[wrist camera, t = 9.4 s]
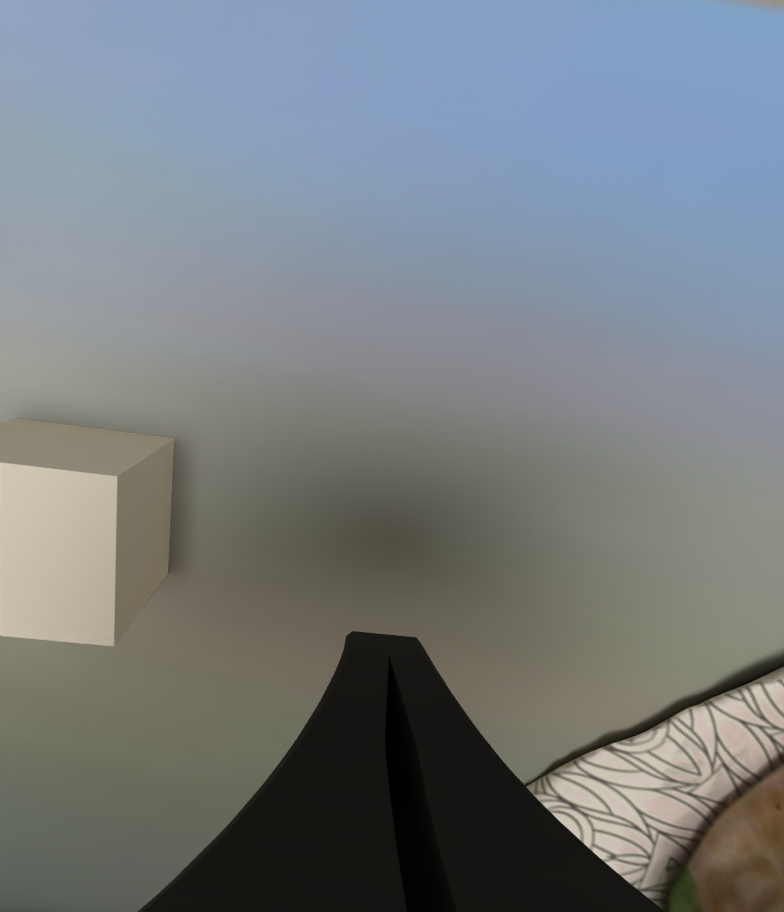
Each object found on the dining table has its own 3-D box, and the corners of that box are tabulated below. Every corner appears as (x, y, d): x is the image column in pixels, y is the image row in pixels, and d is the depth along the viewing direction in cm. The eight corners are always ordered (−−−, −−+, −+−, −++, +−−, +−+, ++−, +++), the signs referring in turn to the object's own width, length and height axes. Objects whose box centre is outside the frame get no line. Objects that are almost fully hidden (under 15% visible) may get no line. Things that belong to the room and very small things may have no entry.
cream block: (169, 572, 17) (113, 646, 14) (22, 556, 17) (-77, 628, 13) (175, 437, 16) (117, 476, 12) (19, 417, 16) (-91, 451, 12)
